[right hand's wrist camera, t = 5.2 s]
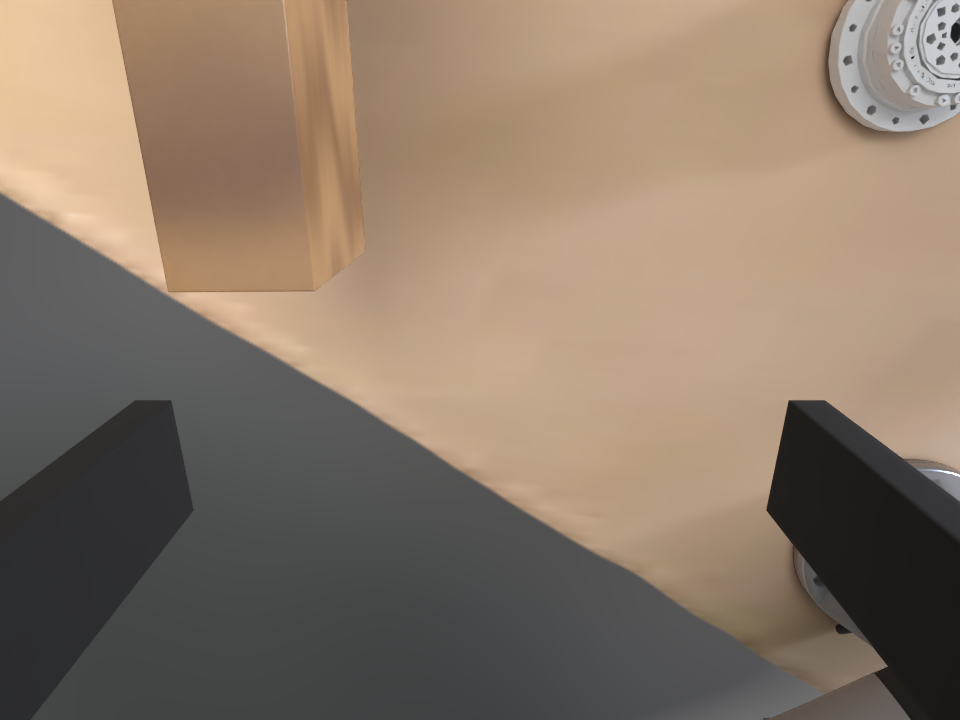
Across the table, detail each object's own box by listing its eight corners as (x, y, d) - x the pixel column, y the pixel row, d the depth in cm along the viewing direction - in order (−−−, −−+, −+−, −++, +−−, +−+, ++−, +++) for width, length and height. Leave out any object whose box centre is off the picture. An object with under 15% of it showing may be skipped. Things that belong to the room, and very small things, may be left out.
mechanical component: (998, -73, 34) (821, -25, 34) (1070, -105, 29) (867, -50, 30) (990, 109, 37) (828, 149, 38) (1054, 104, 33) (871, 148, 33)
